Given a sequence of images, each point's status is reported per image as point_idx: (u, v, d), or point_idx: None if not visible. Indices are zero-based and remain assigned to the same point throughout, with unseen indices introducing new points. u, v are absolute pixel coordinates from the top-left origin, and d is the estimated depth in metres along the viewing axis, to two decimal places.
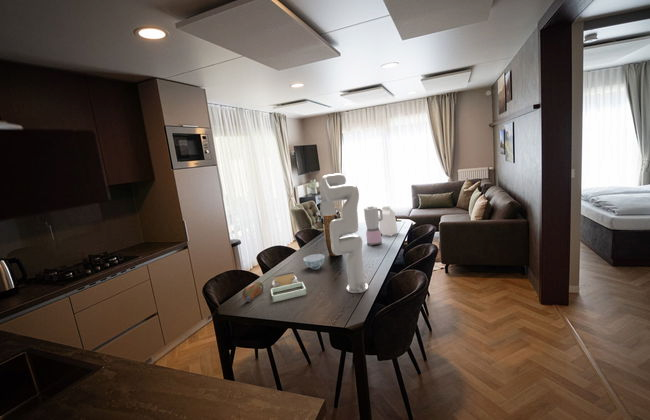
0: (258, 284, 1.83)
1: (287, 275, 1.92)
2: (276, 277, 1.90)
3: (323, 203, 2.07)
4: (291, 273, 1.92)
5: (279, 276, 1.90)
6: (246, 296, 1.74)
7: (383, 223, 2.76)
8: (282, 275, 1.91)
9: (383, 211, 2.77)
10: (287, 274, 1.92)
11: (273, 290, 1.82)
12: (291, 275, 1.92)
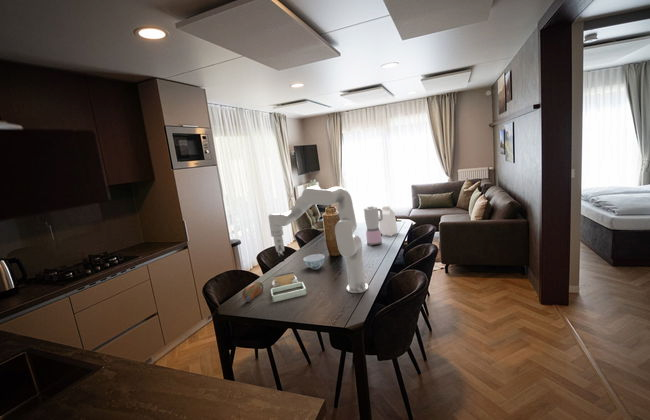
0: (258, 284, 1.83)
1: (287, 275, 1.92)
2: (276, 277, 1.90)
3: None
4: (291, 273, 1.92)
5: (279, 276, 1.90)
6: (246, 296, 1.74)
7: (383, 223, 2.77)
8: (282, 275, 1.91)
9: (383, 211, 2.77)
10: (287, 274, 1.92)
11: (273, 290, 1.82)
12: (291, 275, 1.92)
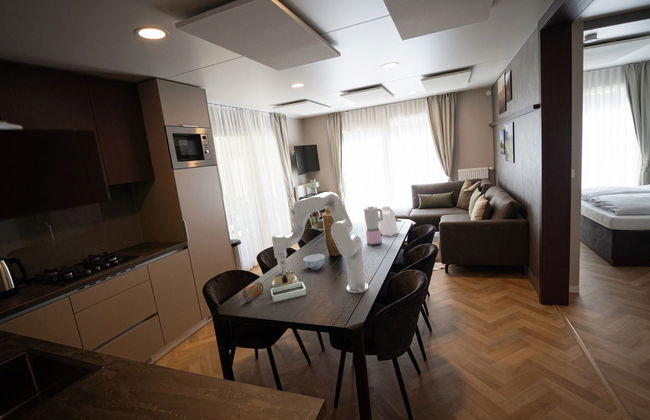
0: (258, 284, 1.83)
1: (287, 275, 1.92)
2: (276, 277, 1.90)
3: (285, 258, 1.88)
4: (291, 273, 1.92)
5: (279, 276, 1.90)
6: (246, 296, 1.74)
7: (382, 223, 2.77)
8: None
9: (383, 211, 2.77)
10: (287, 274, 1.92)
11: (273, 290, 1.82)
12: (291, 275, 1.92)
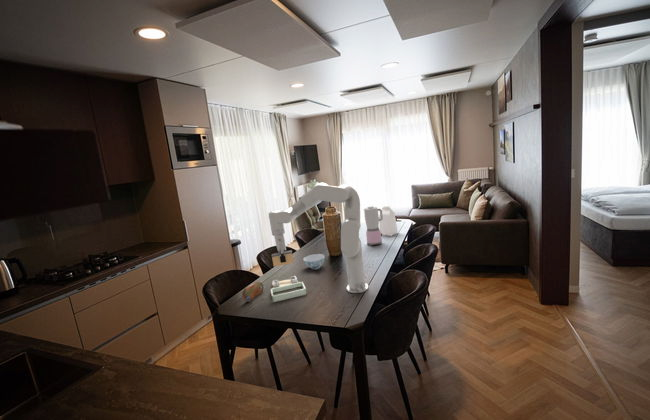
0: (258, 284, 1.83)
1: (285, 255, 1.80)
2: (274, 257, 1.79)
3: (283, 236, 1.77)
4: (290, 253, 1.81)
5: (277, 256, 1.79)
6: (246, 296, 1.74)
7: (382, 223, 2.77)
8: None
9: (383, 211, 2.77)
10: (285, 254, 1.80)
11: (273, 290, 1.82)
12: (290, 255, 1.81)
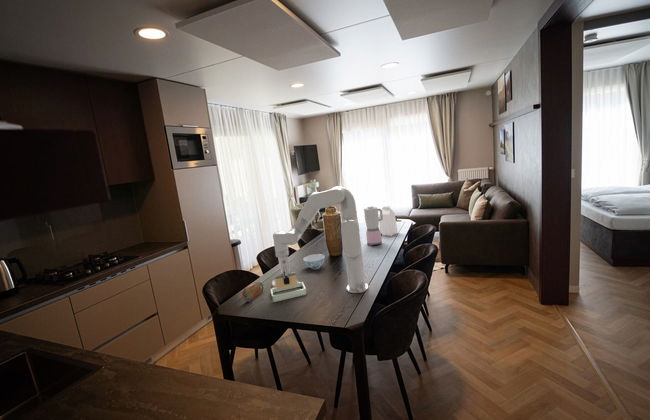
0: (258, 284, 1.83)
1: (289, 277, 1.77)
2: (277, 279, 1.75)
3: (287, 257, 1.73)
4: (293, 274, 1.77)
5: (280, 278, 1.75)
6: (246, 296, 1.74)
7: (383, 223, 2.77)
8: None
9: (383, 211, 2.77)
10: (289, 275, 1.76)
11: (273, 290, 1.82)
12: (293, 277, 1.77)
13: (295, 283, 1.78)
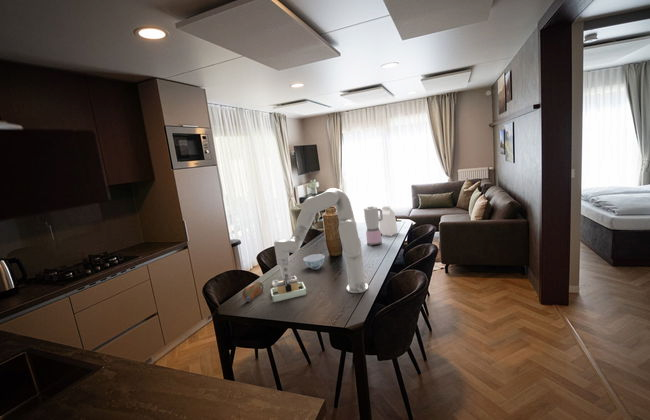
0: (258, 284, 1.83)
1: (291, 284, 1.77)
2: (279, 286, 1.76)
3: None
4: (295, 282, 1.78)
5: (282, 285, 1.76)
6: (246, 296, 1.74)
7: (382, 223, 2.77)
8: None
9: (383, 211, 2.77)
10: (291, 283, 1.77)
11: (273, 290, 1.82)
12: (295, 284, 1.78)
13: None
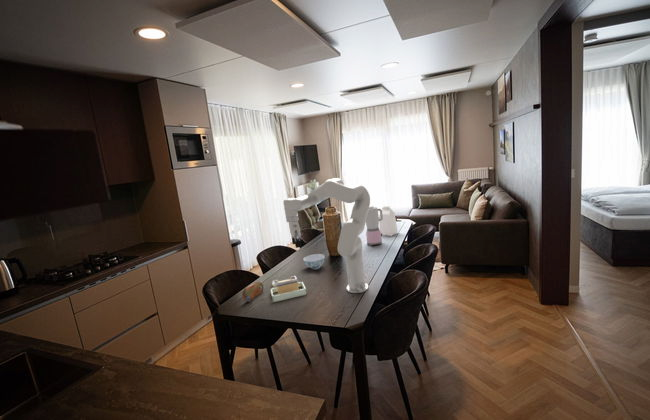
0: (258, 284, 1.83)
1: (291, 284, 1.77)
2: (279, 286, 1.76)
3: None
4: (295, 282, 1.78)
5: (282, 285, 1.76)
6: (246, 296, 1.74)
7: (383, 223, 2.77)
8: (285, 284, 1.76)
9: (383, 211, 2.77)
10: (291, 283, 1.77)
11: (273, 290, 1.82)
12: (295, 284, 1.78)
13: None
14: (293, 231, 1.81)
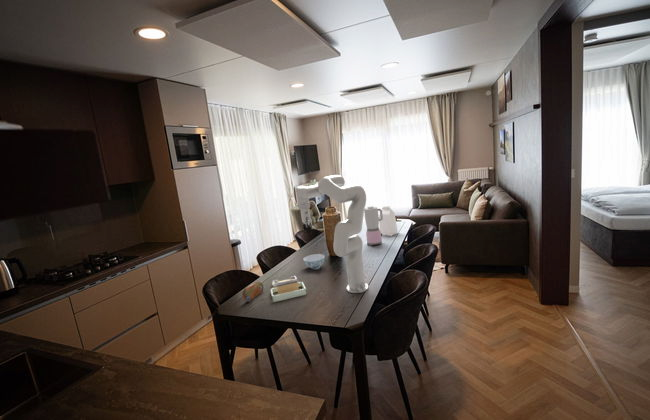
0: (258, 284, 1.83)
1: (291, 284, 1.77)
2: (279, 286, 1.76)
3: None
4: (295, 282, 1.78)
5: (282, 285, 1.76)
6: (246, 296, 1.74)
7: (383, 223, 2.77)
8: (285, 284, 1.76)
9: (383, 211, 2.77)
10: (291, 283, 1.77)
11: (273, 290, 1.82)
12: (295, 284, 1.78)
13: None
14: (304, 217, 1.92)
